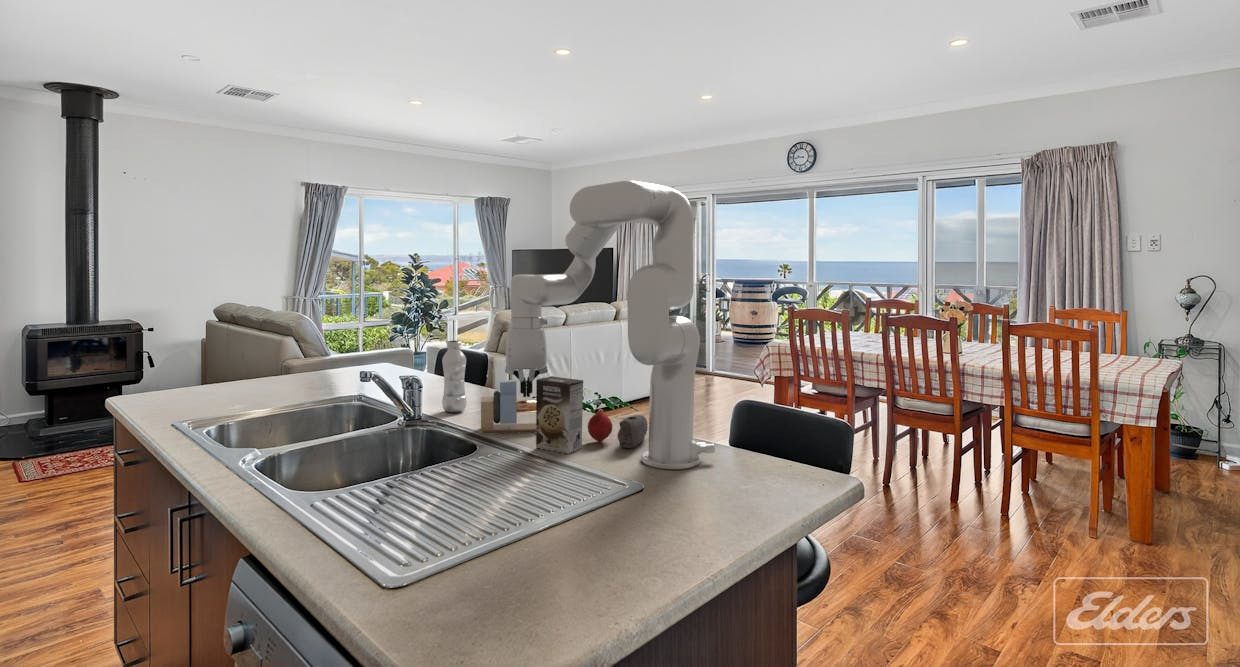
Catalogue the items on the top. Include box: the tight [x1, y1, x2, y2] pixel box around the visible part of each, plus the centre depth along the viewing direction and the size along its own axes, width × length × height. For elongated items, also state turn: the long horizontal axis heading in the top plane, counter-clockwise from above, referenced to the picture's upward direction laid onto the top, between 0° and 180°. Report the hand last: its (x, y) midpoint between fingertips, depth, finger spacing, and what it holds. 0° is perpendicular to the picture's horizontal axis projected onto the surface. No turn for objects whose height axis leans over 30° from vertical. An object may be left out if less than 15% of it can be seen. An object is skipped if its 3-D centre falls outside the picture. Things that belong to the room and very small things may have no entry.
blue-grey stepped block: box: [499, 379, 518, 424], centre depth 170 cm, size 4×7×10 cm, turn 10°
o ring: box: [493, 390, 500, 424], centre depth 170 cm, size 2×8×8 cm, turn 10°
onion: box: [587, 408, 613, 443], centre depth 161 cm, size 6×6×8 cm
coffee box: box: [535, 375, 584, 455], centre depth 154 cm, size 9×6×16 cm
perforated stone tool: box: [617, 414, 649, 449], centre depth 160 cm, size 15×5×7 cm, turn 159°
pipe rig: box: [480, 396, 536, 434], centre depth 171 cm, size 17×6×8 cm, turn 100°
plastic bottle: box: [441, 340, 467, 414], centre depth 189 cm, size 6×7×20 cm
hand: (526, 395), depth 171 cm, fingers closed
